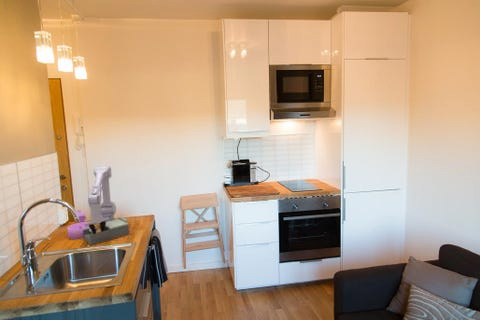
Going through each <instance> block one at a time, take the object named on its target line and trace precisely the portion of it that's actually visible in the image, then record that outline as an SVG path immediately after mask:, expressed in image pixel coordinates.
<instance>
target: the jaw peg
mask: <svg viewBox="0 0 480 320" xmlns="http://www.w3.org/2000/svg"><path fill="white" fill-rule="evenodd" d="M95 227H96V226H95ZM99 232H102V230H101V227H96V228H95V234H96V233H99Z"/></svg>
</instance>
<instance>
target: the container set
mask: <svg viewBox="0 0 480 320" xmlns="http://www.w3.org/2000/svg"><path fill="white" fill-rule="evenodd" d="M76 213H77V215H78V217H79V220H80V222H79V223H76V222H75V223H72V224H70V225H68V226H67V238H68V239H69V240H79V239H81V238H82V239H83V230H84V229H88V228H90V227H89V226H87V227H85V226H84V223H86V222H87V221H86V218H87V217H86V216H85V215H86V213H85V212H84V211H82V210H81V209H80V210H77V212H76Z"/></svg>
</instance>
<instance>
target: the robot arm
mask: <svg viewBox="0 0 480 320" xmlns="http://www.w3.org/2000/svg"><path fill="white" fill-rule="evenodd" d="M93 175H94V176H95V177H94V178H95V181H94V184H93V185H92V189H91V192H90V195H89V196H88V198H87V203H88V206H89V208H90V215H91V220H89V221H85V222H86V223H84V226H85V227H87V226H89V227H90V229H91V231H92V233H93V234H95V227H96V226H95V225H96V224H99V226H100V227H101V230H102V232H103V231H104V227H105V225H106V222H109V221H113V220H115V214H116V213H117V207H116V203H115V202H114V201H112V200H111V190H110V187H111V186H110V179H111V178H112V168H111V166H109V165H107V166H95V167H94V168H93Z"/></svg>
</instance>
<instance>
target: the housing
mask: <svg viewBox="0 0 480 320" xmlns="http://www.w3.org/2000/svg"><path fill="white" fill-rule="evenodd" d="M129 225H130V224H129ZM129 225H126V226H122V227H118V228H114V229H108V228H107V227H104V231H103V232H99V233H96V234H93V233H92V231H91V229H90V228H88V229H84V230H83V238H82V239H83V240H84V241H85V242H86V243H87V242H88V243H87V244H88V245H90V246H93V245H96V244H100V243H103V242H107V241H111V240H114V239H118V238H122V237H125V236H128V235H130V226H129ZM96 227H100V225H97V226H95V228H96Z"/></svg>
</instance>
